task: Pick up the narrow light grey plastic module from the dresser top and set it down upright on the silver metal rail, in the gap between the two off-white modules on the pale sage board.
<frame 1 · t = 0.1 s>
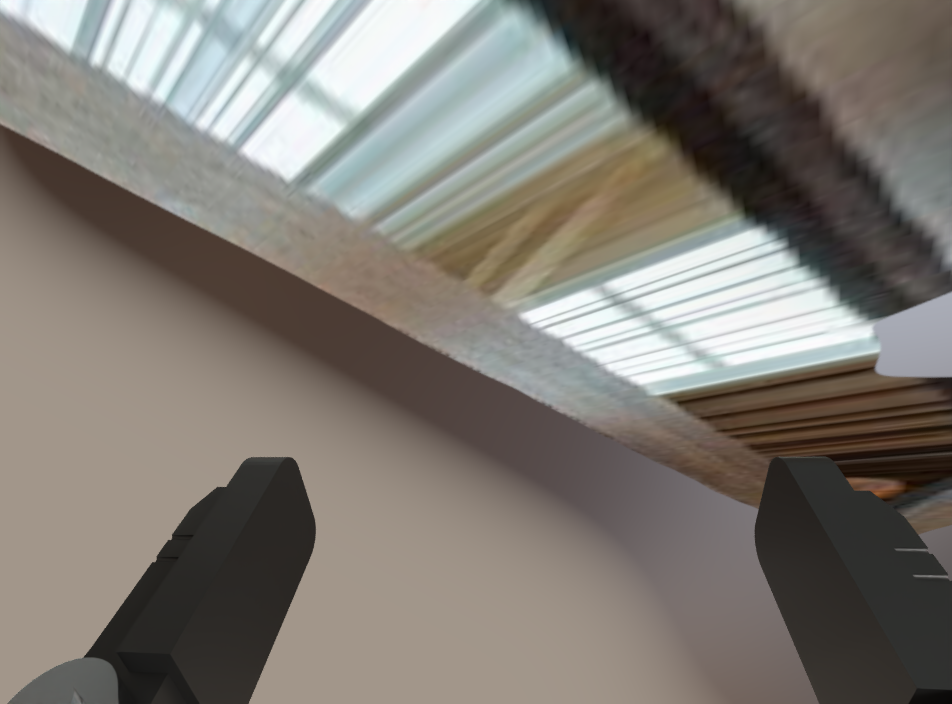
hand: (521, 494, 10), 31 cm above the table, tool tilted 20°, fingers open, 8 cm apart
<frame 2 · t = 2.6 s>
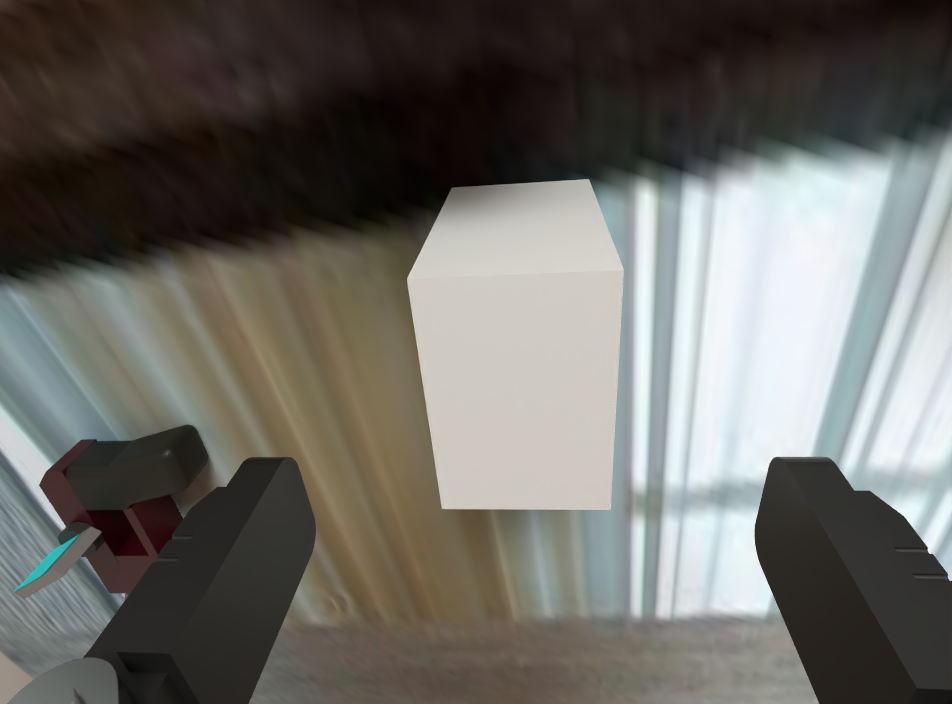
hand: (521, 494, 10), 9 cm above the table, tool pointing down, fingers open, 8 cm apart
module: (523, 278, 18), on the table
toy gun: (210, 519, 26), on the table
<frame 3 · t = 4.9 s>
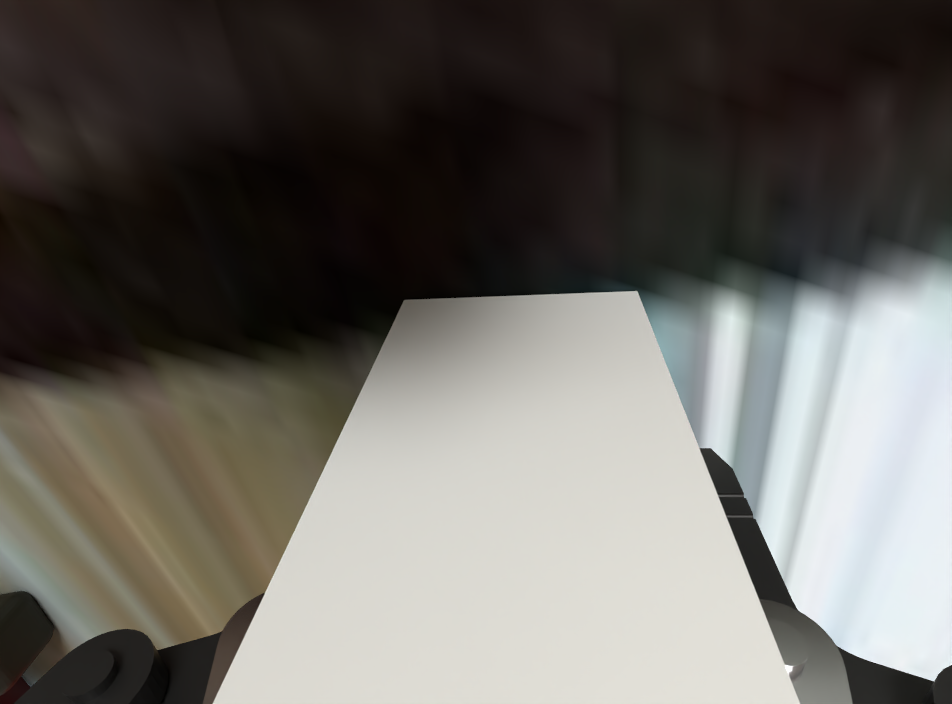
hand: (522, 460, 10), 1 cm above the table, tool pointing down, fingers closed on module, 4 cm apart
module: (524, 433, 11), on the table, touching gripper
toy gun: (75, 685, 19), on the table
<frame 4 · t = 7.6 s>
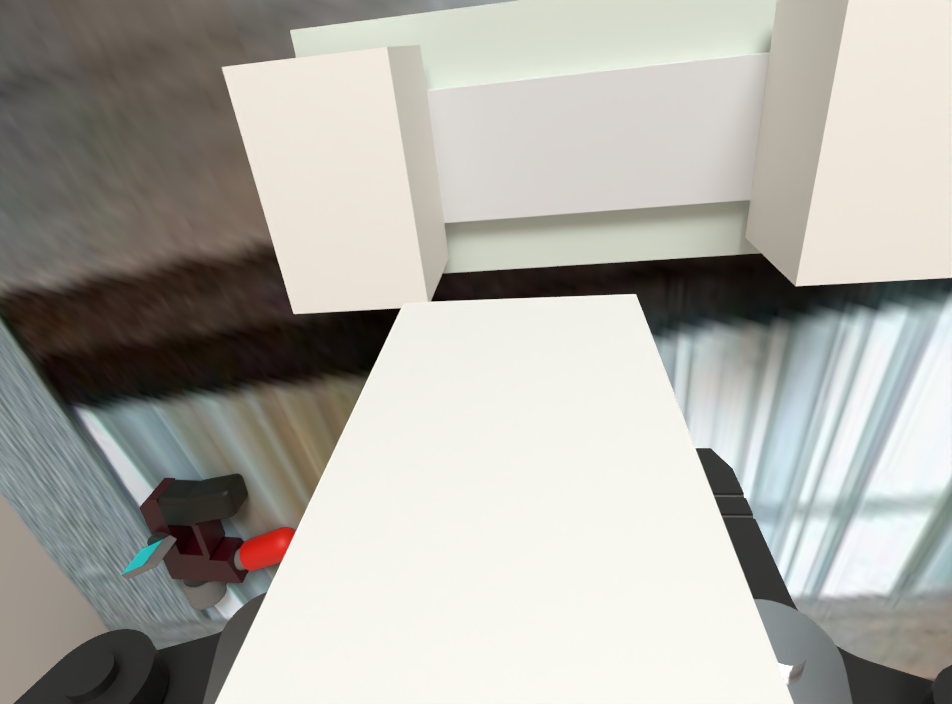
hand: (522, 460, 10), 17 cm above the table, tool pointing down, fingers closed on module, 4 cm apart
module: (523, 435, 11), point 16 cm above the table, touching gripper
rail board: (586, 136, 23), on the table
toy gun: (242, 532, 38), on the table
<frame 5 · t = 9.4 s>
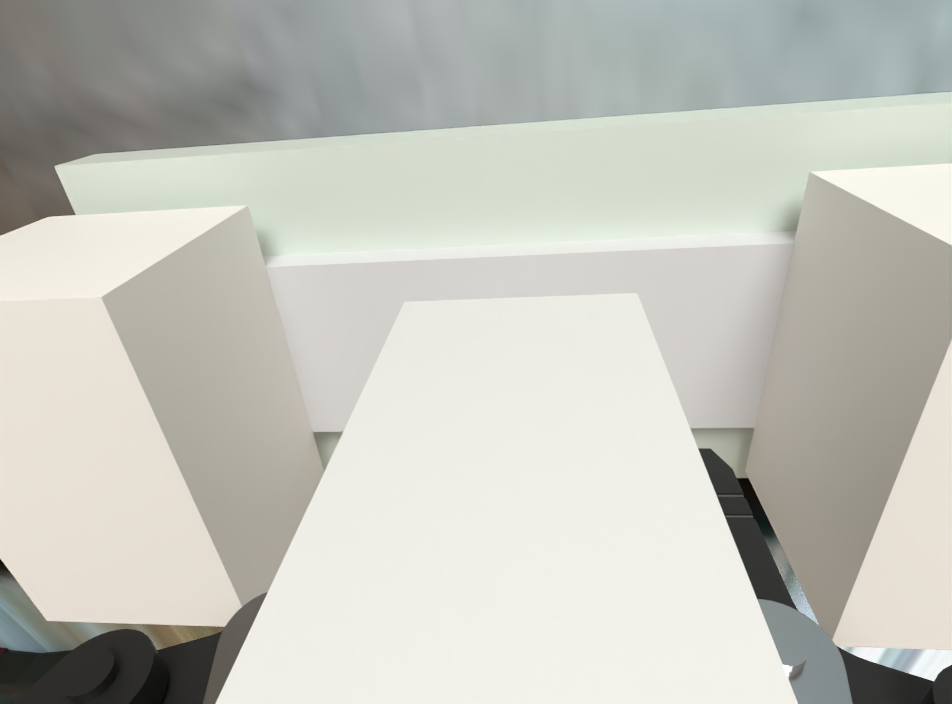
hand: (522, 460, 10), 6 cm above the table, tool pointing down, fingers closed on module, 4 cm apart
module: (524, 434, 11), point 6 cm above the table, touching gripper
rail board: (521, 310, 16), on the table
toy gun: (103, 699, 31), on the table
when the fingers open (4 cm above the table, at t = 10.5 s): module drops 1 cm, resting on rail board.
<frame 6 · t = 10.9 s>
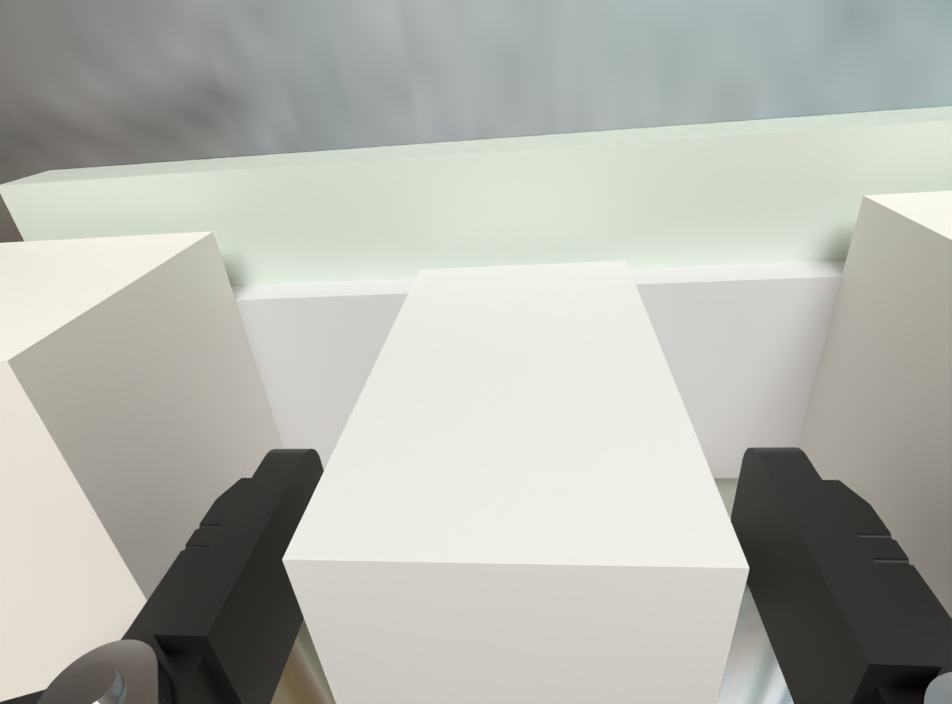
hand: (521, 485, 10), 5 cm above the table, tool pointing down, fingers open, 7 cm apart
module: (526, 392, 12), point 2 cm above the table, touching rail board
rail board: (525, 342, 14), on the table
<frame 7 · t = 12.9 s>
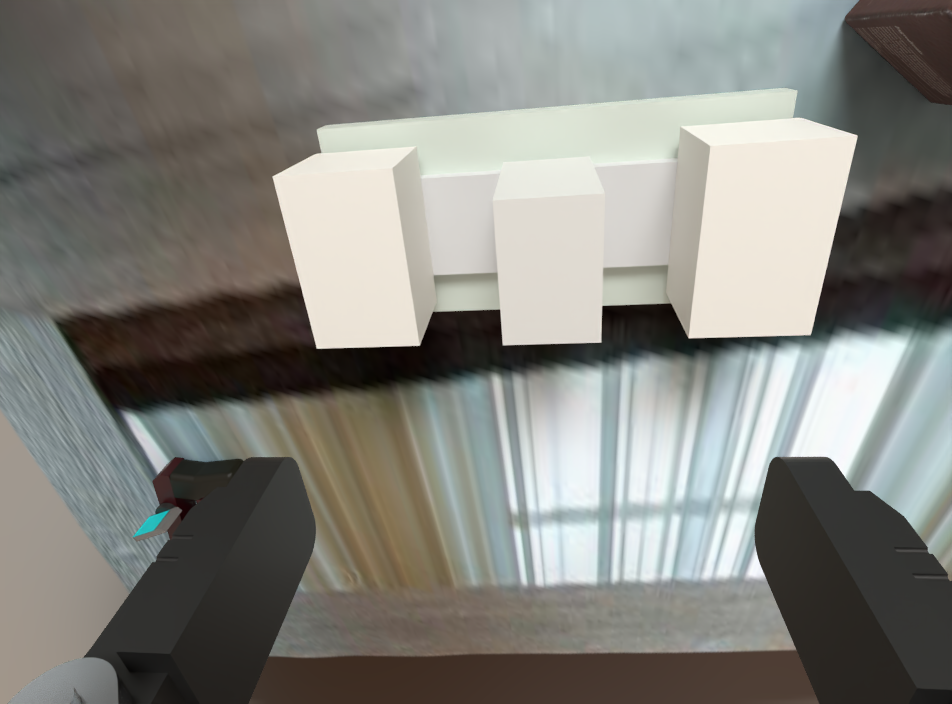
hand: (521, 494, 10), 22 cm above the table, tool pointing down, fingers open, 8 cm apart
module: (547, 222, 27), point 2 cm above the table, touching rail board
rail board: (546, 209, 29), on the table
toy gun: (235, 508, 44), on the table
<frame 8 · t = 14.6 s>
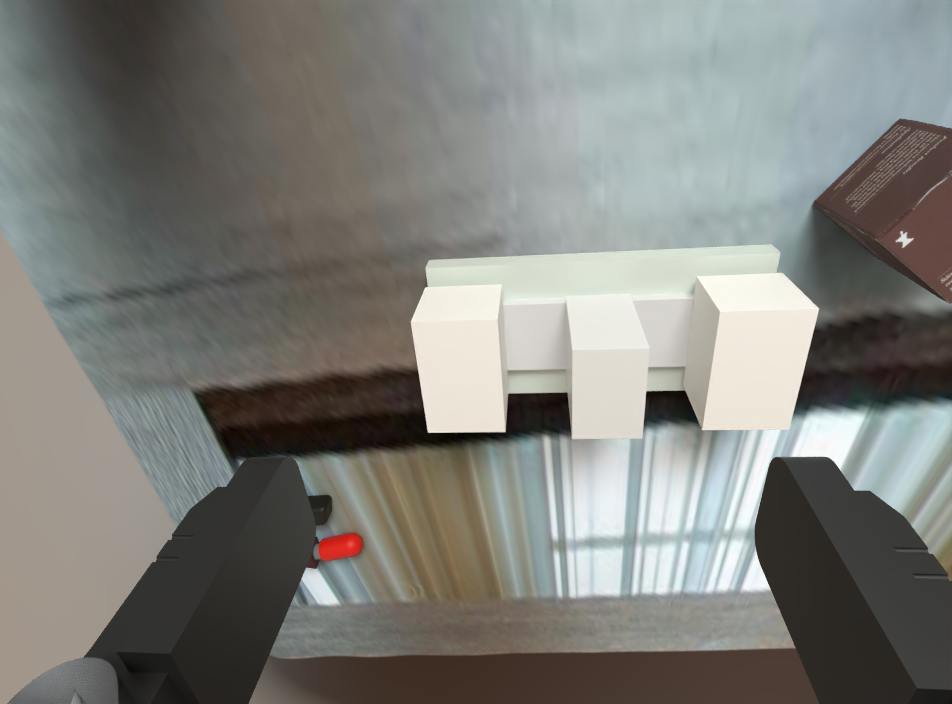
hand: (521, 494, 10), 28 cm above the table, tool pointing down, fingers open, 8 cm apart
module: (596, 336, 37), point 2 cm above the table, touching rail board
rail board: (592, 320, 39), on the table
box: (884, 189, 33), on the table
toy gun: (316, 532, 53), on the table
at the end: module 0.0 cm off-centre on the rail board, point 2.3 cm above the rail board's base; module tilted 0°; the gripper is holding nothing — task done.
